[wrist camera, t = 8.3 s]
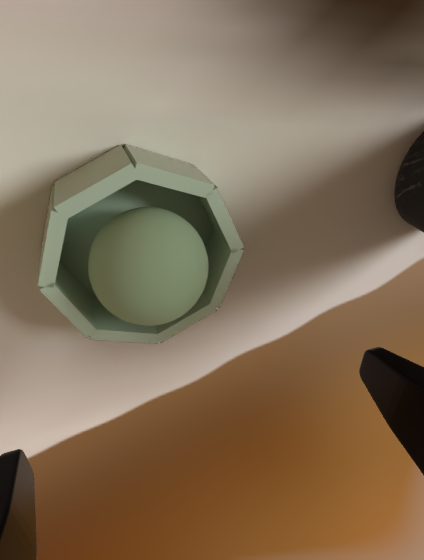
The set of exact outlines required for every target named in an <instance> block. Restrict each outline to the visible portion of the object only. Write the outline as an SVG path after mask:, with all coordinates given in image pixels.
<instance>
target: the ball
mask: <svg viewBox="0 0 424 560" xmlns="http://www.w3.org/2000/svg"><path fill="white" fill-rule="evenodd" d="M88 273H89V279H90V282H91V285H92V288H93V291H94V293H95V295H96V296H97V298H98V299H99V301H100V302H101V304H102V305H103V306H104V307H105V308H106V309H107V310H108V311H109V312H111V313H112V314H113V315H115V316H116V317H118V318H120V319H122V320H124V321H126V322H129V323H132V324H136V325H143V326H155V325H161V324H165V323H168V322H171V321H173V320H175V319H177V318H179V317H181V316H182V315H184V314H185V313H186V312H188V311H189V310H190V309H191V308H192V307H193V306H194V305H195V303H196V302H197V301H198V299H199V298H200V296H201V294H202V292H203V290H204V288H205V285H206V282H207V277H208V256H207V252H206V248H205V245H204V243H203V241H202V239H201V237H200V236H199V234H198V232H197V231H196V230H195V229H194V228H193V226H192V225H191V224H190V223H189V222H187V221H186V220H185V219H184V218H182V217H181V216H179V215H177V214H175V213H173V212H171V211H168V210H165V209H161V208H155V207H140V208H134V209H130V210H128V211H125V212H123V213H121V214H119V215H117V216H115V217H114V218H112V219H111V220H110V221H109V222H107V223H106V224H105V225H104V227H103V228H102V229H101V230H100V231H99V233H98V234H97V236H96V237H95V239H94V241H93V244H92V247H91V250H90V253H89V259H88Z"/></svg>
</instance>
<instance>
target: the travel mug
mask: <svg viewBox="0 0 424 560" xmlns="http://www.w3.org/2000/svg"><path fill="white" fill-rule="evenodd" d="M395 202H396V206H397V209H398V212H399V213H400V215H401V216H402V218H403V219H404V220H405V221H406V222H408V223H409V224H411V225H413V226H414V227H416V228H417V229H419V230H421V231H422V232H424V132H423V133H422V134H421V136H420V137H419V138H418V139H417V141H416V142H415V143H414V145H413V146H412V147H411V149H410V151H409V152H408V154H407V156H406V157H405V160H404V162H403V164H402V166H401V169H400V171H399V174H398V178H397V182H396V188H395Z"/></svg>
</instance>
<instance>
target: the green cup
mask: <svg viewBox="0 0 424 560" xmlns="http://www.w3.org/2000/svg"><path fill="white" fill-rule="evenodd" d="M140 207H155V208H161V209H165V210H168V211H171V212H173V213H175V214H177V215H179V216H181V217H182V218H184V219H185V220H186V221H187V222H189V223H190V224H191V225H192V226H193V228H194V229H195V230H196V231H197V232H198V234H199V236H200V237H201V239H202V241H203V243H204V245H205V248H206V252H207V256H208V277H207V282H206V285H205V288H204V290H203V292H202V294H201V296H200V298H199V299H198V301H197V302H196V303H195V305H194V306H193V307H192V308H191V309H190V310H189V311H188V312H186V313H185V314H184V315H182V316H181V317H179V318H177V319H175V320H173V321H171V322H168V323H165V324H161V325H155V326H143V325H136V324H132V323H129V322H126V321H124V320H122V319H120V318H118V317H116V316H115V315H113V314H112V313H111V312H109V311H108V310H107V309H106V308H105V307H104V306H103V305H102V304H101V302H100V301H99V299H98V298H97V296H96V295H95V293H94V291H93V288H92V285H91V282H90V279H89V273H88V259H89V253H90V250H91V247H92V244H93V241H94V239H95V237H96V236H97V234H98V233H99V231H100V230H101V229H102V228H103V227H104V225H105V224H106V223H107V222H109V221H110V220H111V219H112V218H114V217H115V216H117V215H119V214H121V213H123V212H125V211H128V210H130V209H134V208H140ZM242 248H244V246H243V244H242V241H241V239H240V237H239V234H238V232H237V230H236V228H235V225H234V223H233V221H232V219H231V216H230V214H229V212H228V210H227V207H226V205H225V203H224V201H223V198H222V196H221V194H220V191H219V189H218V187H217V186H216V185H214V184H213V183H212V182H211V181H210V180H209V179H208V178H207V177H206V176H205V175H204V174H203V173H202V172H201V171H200V170H199V169H198V168H197V167H195V166H194V165H193V164H189V163H186V162H183V161H180V160H176V159H173V158H170V157H167V156H163V155H160V154H157V153H153V152H150V151H147V150H144V149H140V148H137V147H134V146H131V145H127V144H125V147H124V149H123V147H122V145H119V146H117V147H115V148H114V149H112V150H110V151H108V152H106V153H105V154H103V155H101V156H99V157H98V158H96V159H94V160H92V161H90V162H89V163H87V164H85V165H83V166H82V167H80V168H78V169H76V170H74V171H73V172H71V173H69V174H67V175H66V176H64V177H62V178H60V179H58V180H57V181H55V186H54V185H52V189H51V195H50V201H49V207H48V213H47V218H46V224H45V230H44V236H43V241H42V247H41V254H40V266H39V277H38V286H39V290H40V292H41V293H42V294H43V295H44V296H45V297H46V298H47V299H48V300H49V301H50V302H51V303H52V304H53V305H54V306H55V307H56V308H57V309H58V310H59V311H60V312H61V313H62V314H63V315H64V316H65V317H66V318H67V319H68V320H69V321H70V322H71V323H72V324H73V325H74V326H75V327H76V328H77V329H78V330H79V331H80V332H81V333H82V334H83V335H84V336H85V337H86V338H88V337H90V340H101V341H117V342H133V343H149V344H157V343H158V340H159V341H160V343H162V342H164V341H165V340H167V339H169V338H171V337H172V336H174V335H176V334H177V333H179V332H181V331H183V330H184V329H186V328H188V327H189V326H191V325H193V324H195V323H196V322H198V321H200V320H201V319H203V318H205V317H207V316H208V315H210V314H212V313H214V312H215V311H217V309H216V307H218V308H220V306H221V303H222V301H223V299H224V296H225V294H226V292H227V289H228V287H229V285H230V282H231V280H232V278H233V275H234V273H235V271H236V268H237V266H238V264H239V261H240V259H241V257H242V254H243V252H244V250H243V249H242Z"/></svg>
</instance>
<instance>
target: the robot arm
mask: <svg viewBox="0 0 424 560" xmlns="http://www.w3.org/2000/svg"><path fill="white" fill-rule="evenodd" d="M359 373H360V377H361V379H362V381H363V382H364V384H365V386H366V388H367V389H368V391H369V393H370V394H371V396H372V398H373V400H374V401H375V403H376V405H377V407H378V408H379V410H380V412H381V413H382V415H383V417H384V419H385V420H386V422H387V424H388V425H389V427H390V428H391V430H392V431H393V433H394V434H395V435H396V437H397V438H398V440H399V441H400V442H401V444H402V445H403V447H404V448H405V449H406V451H407V452H408V454H409V455H410V456H411V458H412V459H413V461H414V462H415V463H416V465H417V466H418V468H419V469H420V470H421V472H422V473H423V475H424V367H422V366H419V365H417V364H415V363H413V362H411V361H409V360H407V359H405V358H402V357H401V356H398V355H396V354H394V353H392V352H390V351H388V350H386V349H383V348H380V347H376V348H372V349H369V350H366V351H365V353H364V356H363V359H362V363H361V366H360V370H359ZM36 554H37V544H36V515H35V489H34V474H33V470H32V467H31V466H30V464H29V462H28V459H27V458H26V456H25V454H24V452H23V451H22V450H21V449H17V450H14V451H10V452H7V453H4V454H2V455H1V456H0V560H36Z"/></svg>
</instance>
